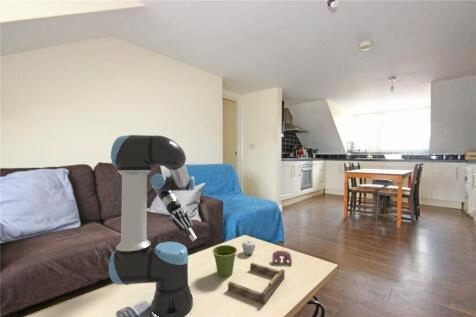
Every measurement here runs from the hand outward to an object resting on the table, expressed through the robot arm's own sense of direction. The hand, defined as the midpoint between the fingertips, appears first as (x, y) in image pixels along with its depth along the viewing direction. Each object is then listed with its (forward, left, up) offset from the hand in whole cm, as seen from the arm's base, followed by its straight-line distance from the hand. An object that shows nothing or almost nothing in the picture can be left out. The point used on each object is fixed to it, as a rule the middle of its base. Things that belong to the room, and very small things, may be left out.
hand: (194, 239), depth 120 cm
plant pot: (0, -19, -13) cm, 23 cm away
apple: (+25, -18, -13) cm, 34 cm away
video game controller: (+24, -39, -13) cm, 47 cm away
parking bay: (0, -36, -12) cm, 38 cm away
